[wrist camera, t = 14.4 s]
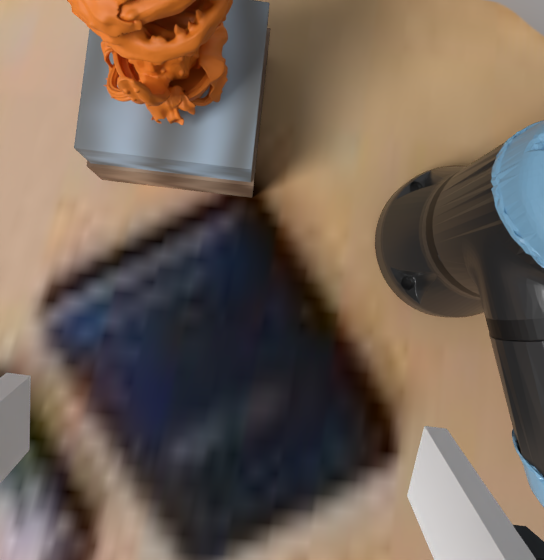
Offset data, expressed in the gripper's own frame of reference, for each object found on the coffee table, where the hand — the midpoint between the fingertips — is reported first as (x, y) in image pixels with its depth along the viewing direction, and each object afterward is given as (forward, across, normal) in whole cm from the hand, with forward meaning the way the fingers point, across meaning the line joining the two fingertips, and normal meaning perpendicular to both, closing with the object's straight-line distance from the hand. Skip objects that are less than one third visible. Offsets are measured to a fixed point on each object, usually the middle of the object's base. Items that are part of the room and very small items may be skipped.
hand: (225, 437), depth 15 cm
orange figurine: (+27, -8, +15) cm, 32 cm away
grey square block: (+35, -9, +13) cm, 38 cm away
